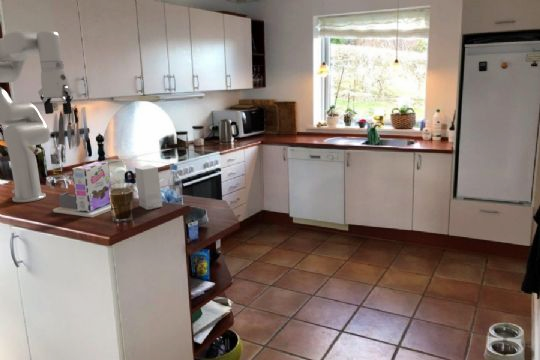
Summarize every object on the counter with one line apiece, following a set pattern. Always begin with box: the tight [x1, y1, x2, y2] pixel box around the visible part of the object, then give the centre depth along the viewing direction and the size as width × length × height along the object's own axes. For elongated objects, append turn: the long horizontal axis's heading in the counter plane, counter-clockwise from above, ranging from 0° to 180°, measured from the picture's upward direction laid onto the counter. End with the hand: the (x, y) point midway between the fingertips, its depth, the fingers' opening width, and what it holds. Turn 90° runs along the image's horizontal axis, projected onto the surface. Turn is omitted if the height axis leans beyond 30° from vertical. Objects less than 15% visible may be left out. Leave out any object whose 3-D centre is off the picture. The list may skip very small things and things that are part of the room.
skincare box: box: [134, 164, 163, 211], centre depth 175 cm, size 8×7×16 cm
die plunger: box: [67, 182, 75, 196], centre depth 177 cm, size 6×6×8 cm
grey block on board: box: [52, 192, 112, 218], centre depth 176 cm, size 20×15×6 cm
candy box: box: [71, 161, 112, 212], centre depth 173 cm, size 14×6×16 cm, turn 162°
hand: (58, 113), depth 172 cm, fingers open, 9 cm apart
